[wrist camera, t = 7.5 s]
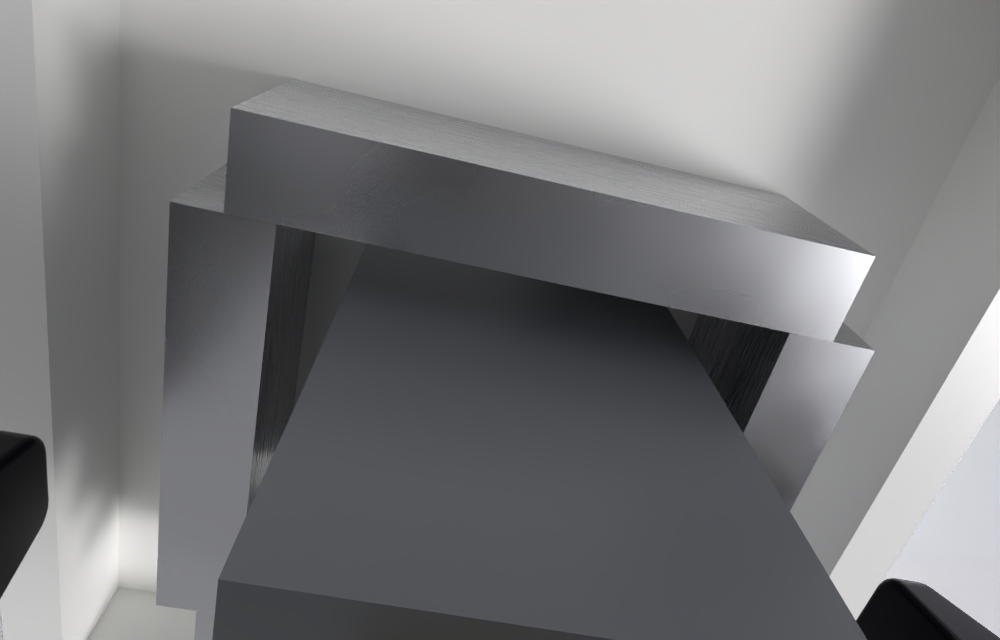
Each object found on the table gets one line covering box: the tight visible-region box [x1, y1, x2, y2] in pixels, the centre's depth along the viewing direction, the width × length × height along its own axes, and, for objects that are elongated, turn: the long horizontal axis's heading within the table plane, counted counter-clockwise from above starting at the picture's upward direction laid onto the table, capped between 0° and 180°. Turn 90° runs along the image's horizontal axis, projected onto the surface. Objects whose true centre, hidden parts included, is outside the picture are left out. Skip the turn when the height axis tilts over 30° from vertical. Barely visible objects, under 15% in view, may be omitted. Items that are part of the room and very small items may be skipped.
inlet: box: [156, 79, 875, 640], centre depth 9 cm, size 7×7×2 cm
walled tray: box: [0, 0, 1000, 640], centre depth 9 cm, size 14×12×2 cm
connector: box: [212, 243, 867, 640], centre depth 7 cm, size 4×4×7 cm
